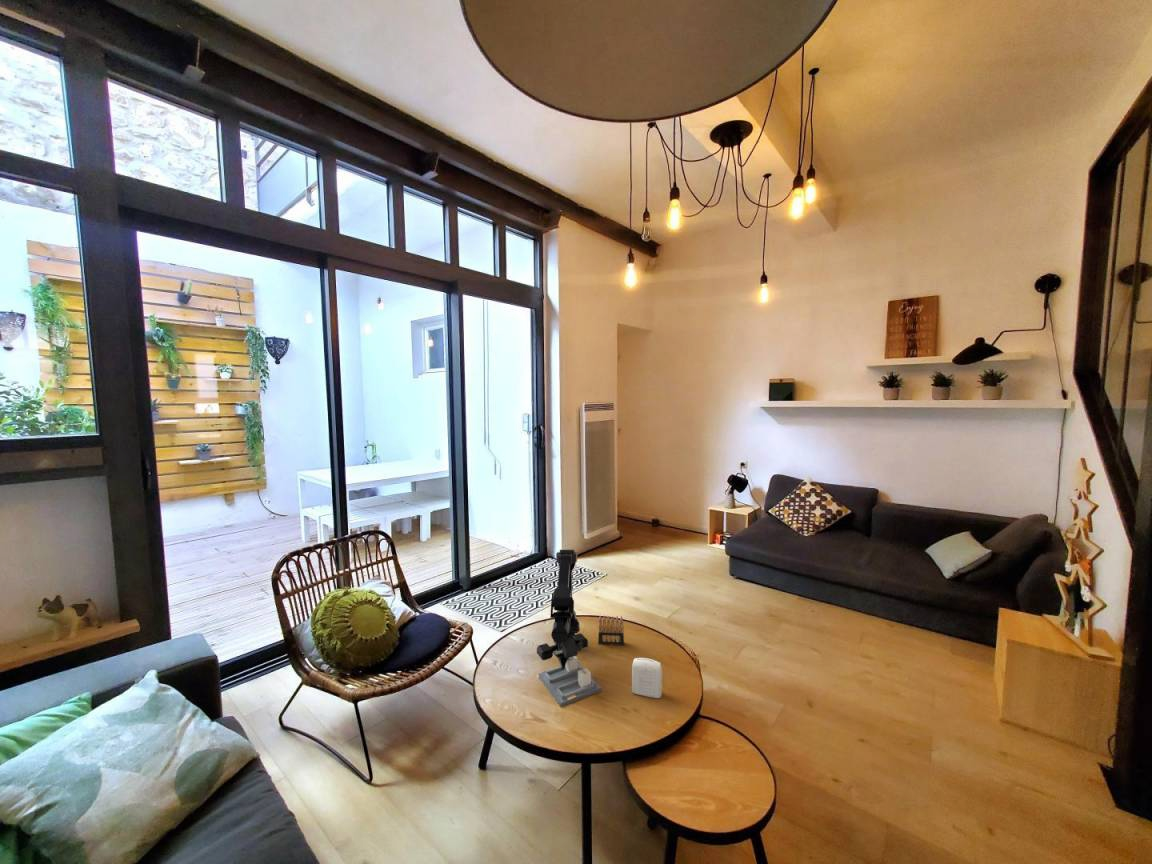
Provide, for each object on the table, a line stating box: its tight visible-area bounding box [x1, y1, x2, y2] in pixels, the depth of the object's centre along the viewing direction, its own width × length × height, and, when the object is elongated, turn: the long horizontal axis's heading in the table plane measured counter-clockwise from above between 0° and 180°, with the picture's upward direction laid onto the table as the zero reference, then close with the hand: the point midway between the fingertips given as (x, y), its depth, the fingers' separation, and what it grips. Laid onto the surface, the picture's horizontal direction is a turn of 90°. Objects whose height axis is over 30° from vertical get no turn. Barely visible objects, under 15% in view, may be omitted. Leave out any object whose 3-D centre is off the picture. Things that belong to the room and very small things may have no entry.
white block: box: [578, 667, 592, 688], centre depth 156 cm, size 3×4×5 cm
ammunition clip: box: [597, 615, 625, 646], centre depth 184 cm, size 11×2×12 cm, turn 84°
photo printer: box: [631, 657, 663, 699], centre depth 153 cm, size 10×4×12 cm, turn 73°
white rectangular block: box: [565, 656, 579, 672], centre depth 165 cm, size 3×4×5 cm
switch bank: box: [538, 661, 602, 707], centre depth 159 cm, size 18×16×2 cm
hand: (562, 668), depth 164 cm, fingers closed
